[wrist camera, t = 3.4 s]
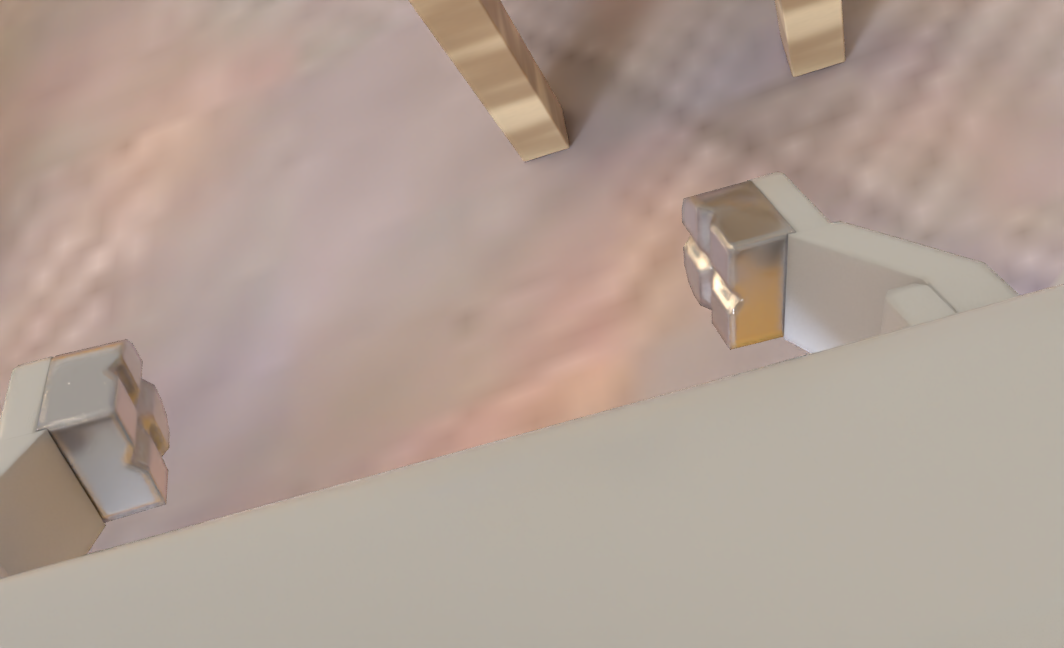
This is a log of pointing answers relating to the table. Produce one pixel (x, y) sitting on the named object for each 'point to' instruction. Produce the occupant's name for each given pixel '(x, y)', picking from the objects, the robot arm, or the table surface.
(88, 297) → the table surface
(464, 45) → the stand
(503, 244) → the table surface
